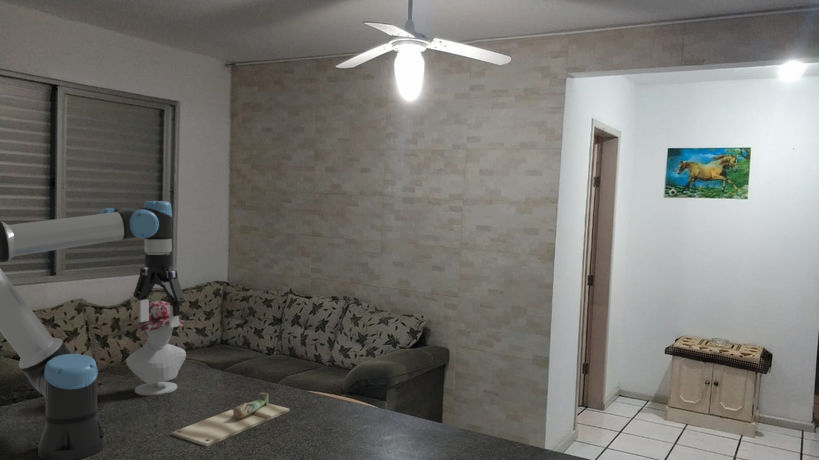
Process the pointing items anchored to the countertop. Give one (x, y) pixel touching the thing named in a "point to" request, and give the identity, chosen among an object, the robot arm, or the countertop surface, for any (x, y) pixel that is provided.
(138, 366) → the bust with hat
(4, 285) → the robot arm
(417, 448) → the countertop surface
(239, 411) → the figurine
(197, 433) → the board
